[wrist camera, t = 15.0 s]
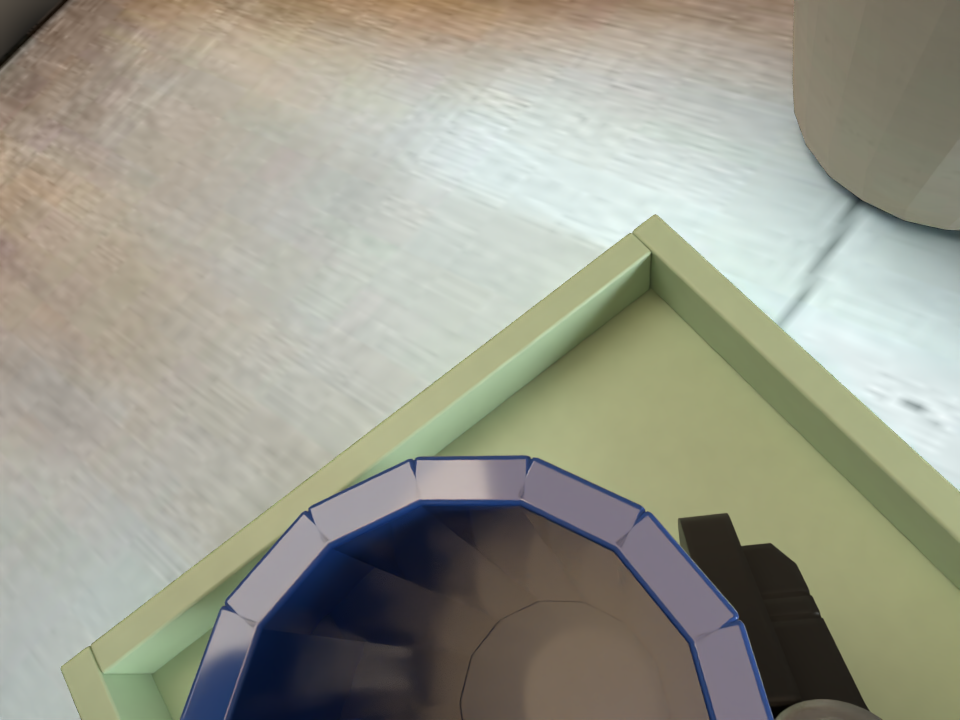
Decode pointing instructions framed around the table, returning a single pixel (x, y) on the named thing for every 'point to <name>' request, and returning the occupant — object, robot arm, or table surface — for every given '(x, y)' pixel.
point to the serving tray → (640, 473)
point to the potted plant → (883, 101)
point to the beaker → (477, 608)
